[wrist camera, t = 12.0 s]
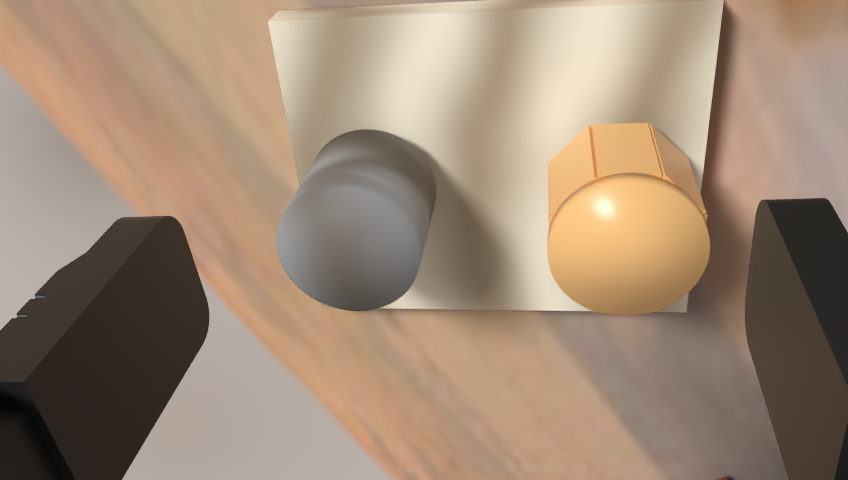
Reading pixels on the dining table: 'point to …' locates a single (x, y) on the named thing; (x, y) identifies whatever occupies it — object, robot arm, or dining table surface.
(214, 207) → the dining table surface
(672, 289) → the orange cap
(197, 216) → the dining table surface
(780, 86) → the dining table surface
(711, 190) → the dining table surface
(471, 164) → the board
